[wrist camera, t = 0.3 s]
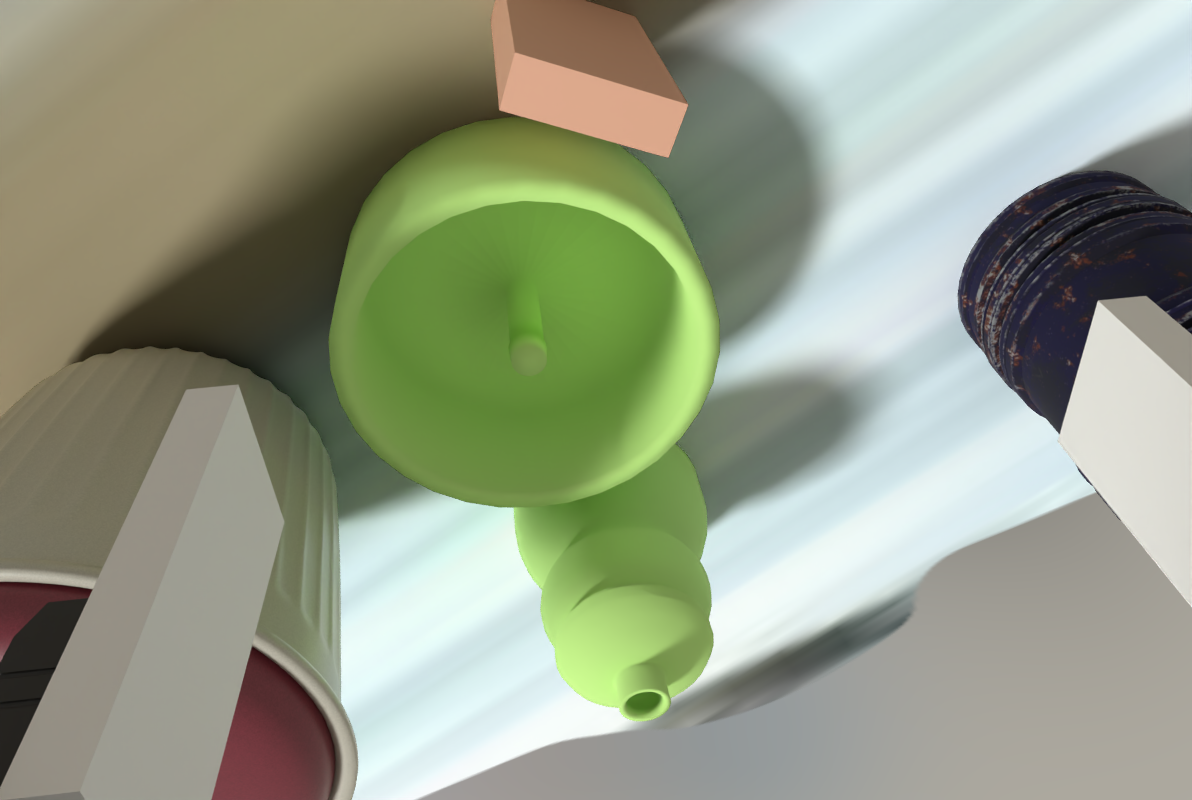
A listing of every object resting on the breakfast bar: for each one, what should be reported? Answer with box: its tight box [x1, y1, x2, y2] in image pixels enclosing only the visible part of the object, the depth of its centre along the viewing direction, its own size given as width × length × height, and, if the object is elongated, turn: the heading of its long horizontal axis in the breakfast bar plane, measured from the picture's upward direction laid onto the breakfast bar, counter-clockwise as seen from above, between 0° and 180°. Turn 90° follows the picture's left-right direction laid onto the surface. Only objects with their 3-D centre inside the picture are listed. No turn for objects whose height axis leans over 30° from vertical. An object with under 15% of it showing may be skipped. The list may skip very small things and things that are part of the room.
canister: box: [0, 346, 358, 800], centre depth 35 cm, size 18×18×21 cm
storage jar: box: [958, 171, 1192, 520], centre depth 37 cm, size 10×10×15 cm
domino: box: [491, 0, 688, 158], centre depth 30 cm, size 2×5×10 cm, turn 72°
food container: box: [328, 117, 720, 721], centre depth 38 cm, size 25×15×13 cm, turn 17°
